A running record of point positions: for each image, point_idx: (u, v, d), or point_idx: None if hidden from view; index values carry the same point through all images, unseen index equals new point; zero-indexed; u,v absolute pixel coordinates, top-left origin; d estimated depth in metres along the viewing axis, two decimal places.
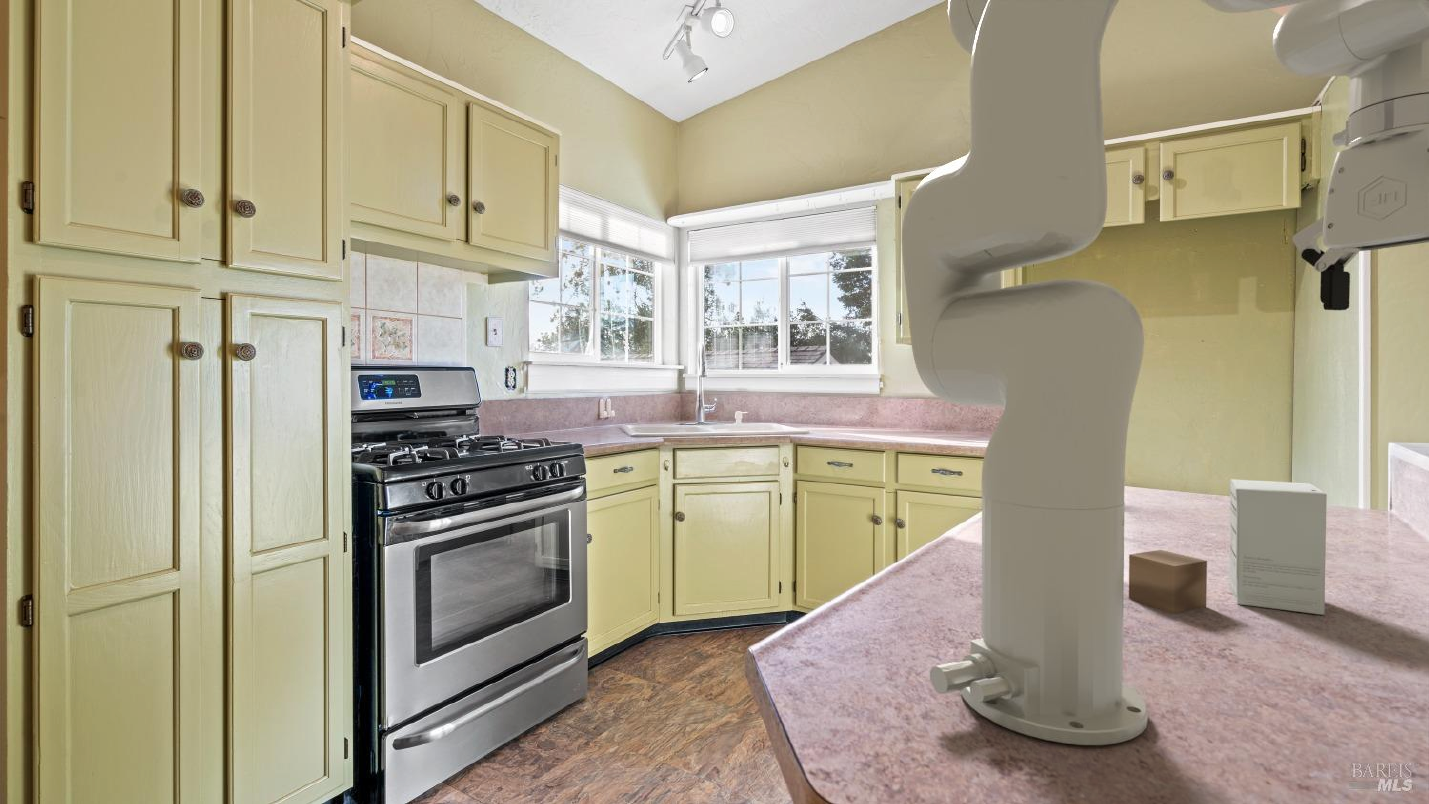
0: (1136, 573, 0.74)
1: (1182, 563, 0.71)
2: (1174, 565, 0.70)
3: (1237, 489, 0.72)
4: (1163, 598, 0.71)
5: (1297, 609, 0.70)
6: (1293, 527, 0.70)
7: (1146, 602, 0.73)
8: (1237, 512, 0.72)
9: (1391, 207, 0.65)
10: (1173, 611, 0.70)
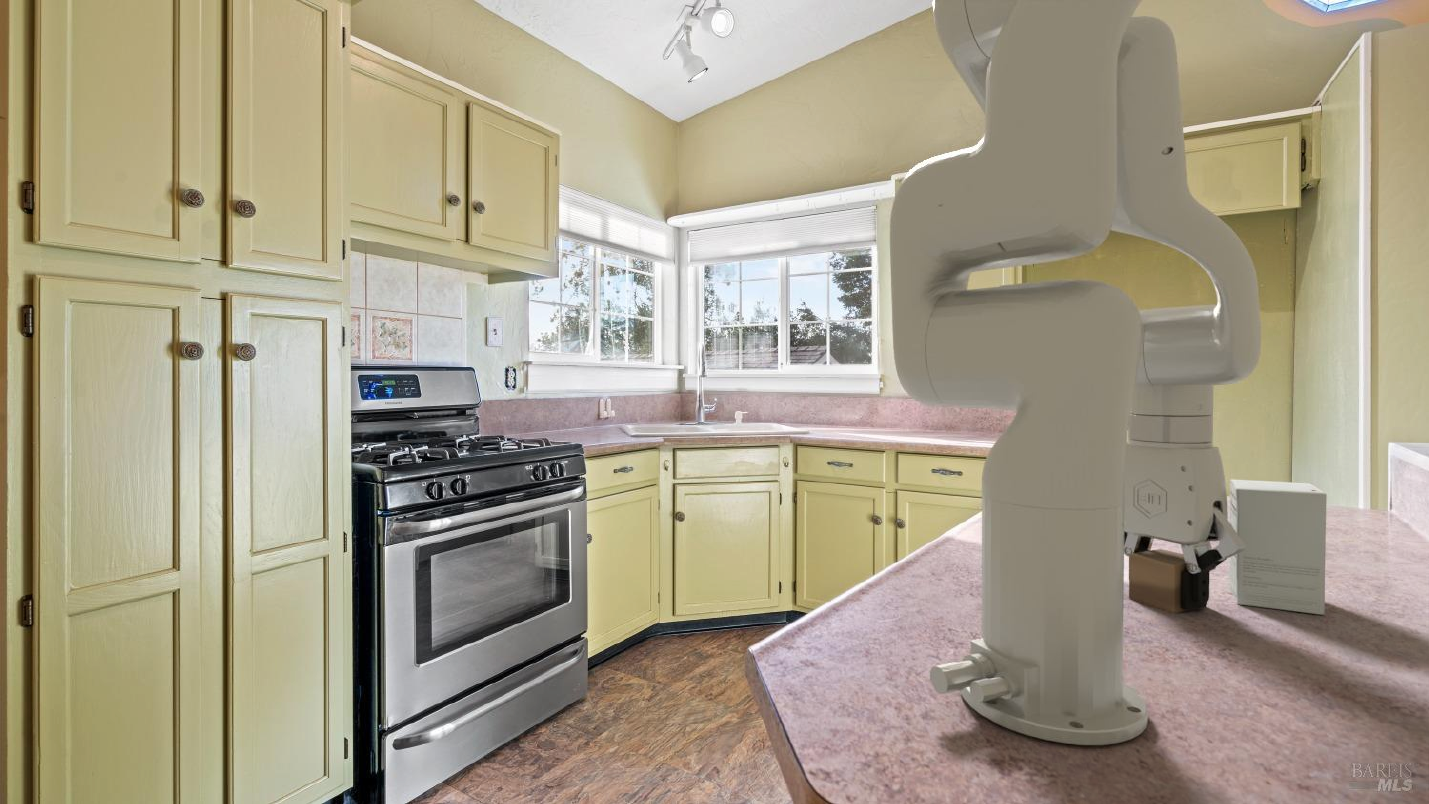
0: (1136, 572, 0.74)
1: (1182, 562, 0.71)
2: (1174, 564, 0.70)
3: (1237, 489, 0.72)
4: (1163, 597, 0.71)
5: (1297, 609, 0.70)
6: (1293, 527, 0.70)
7: (1146, 601, 0.73)
8: (1237, 512, 0.72)
9: (1156, 509, 0.72)
10: (1173, 610, 0.70)
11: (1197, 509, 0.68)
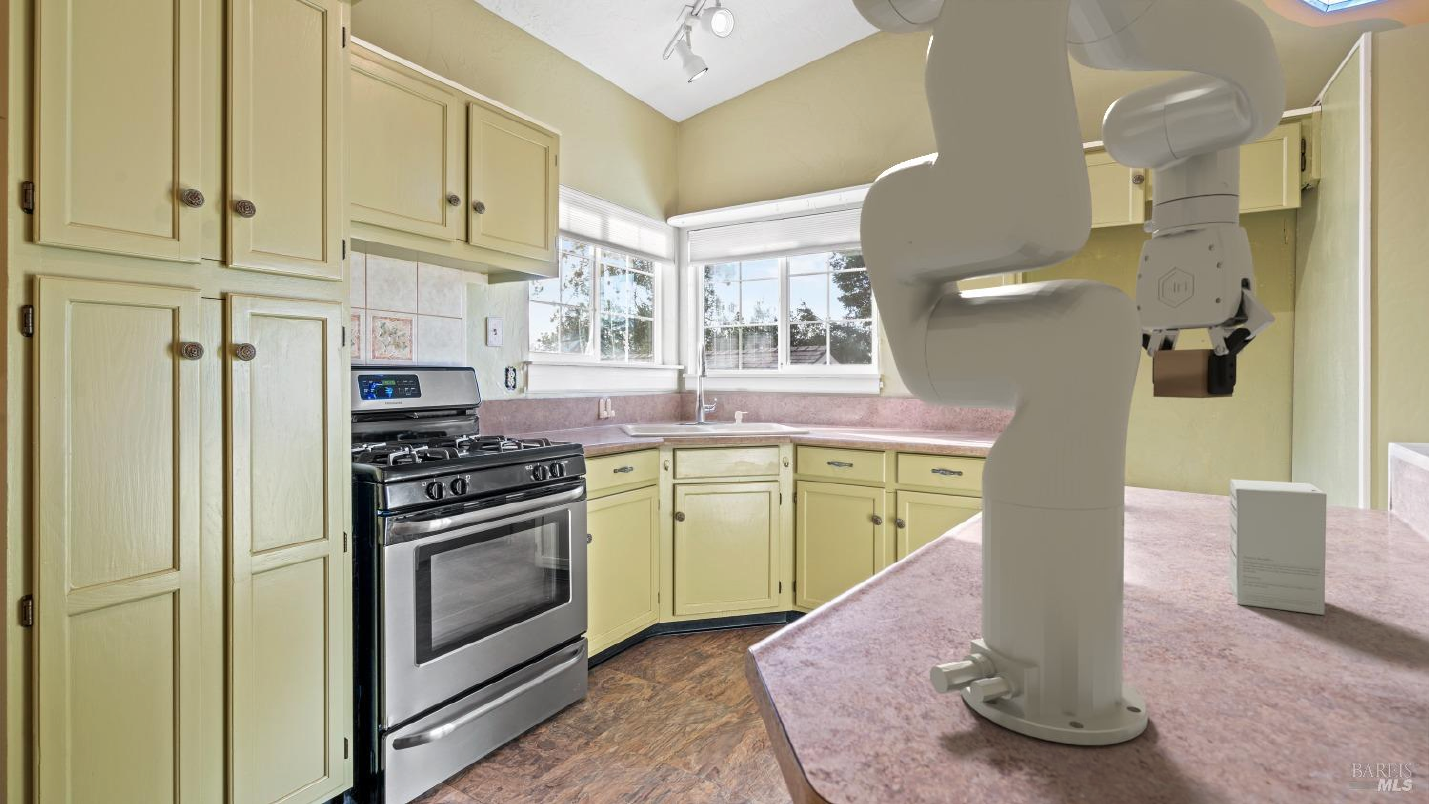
0: (1161, 367, 0.73)
1: (1209, 349, 0.70)
2: (1201, 349, 0.70)
3: (1237, 489, 0.72)
4: (1190, 384, 0.71)
5: (1297, 609, 0.70)
6: (1293, 527, 0.70)
7: (1172, 394, 0.72)
8: (1237, 512, 0.72)
9: (1183, 296, 0.71)
10: (1200, 395, 0.70)
11: (1225, 285, 0.67)
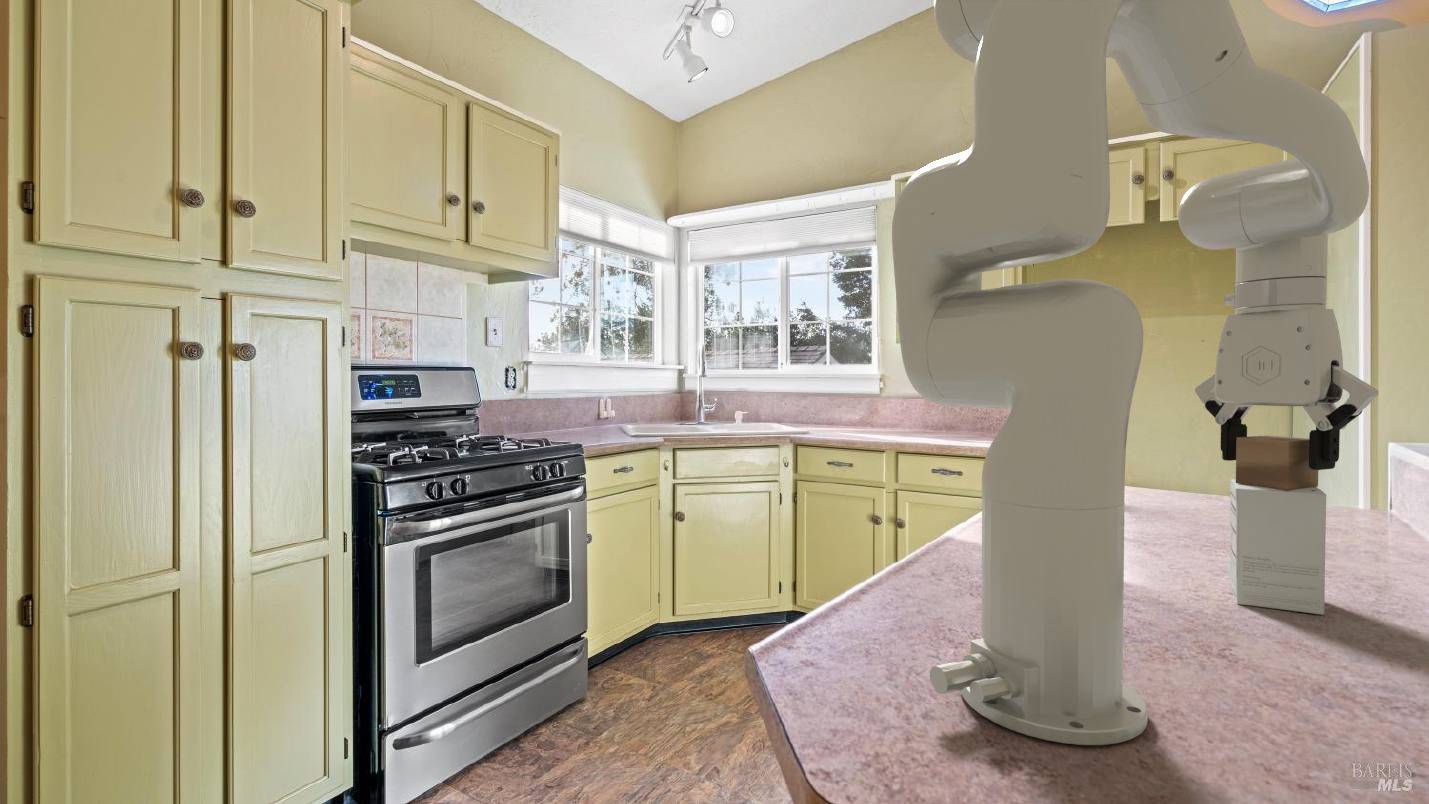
0: (1244, 455, 0.74)
1: (1295, 440, 0.71)
2: (1288, 441, 0.70)
3: (1237, 489, 0.72)
4: (1275, 475, 0.71)
5: (1297, 609, 0.70)
6: (1293, 527, 0.70)
7: (1256, 482, 0.73)
8: (1237, 512, 0.72)
9: (1268, 375, 0.71)
10: (1287, 487, 0.70)
11: (1315, 368, 0.68)
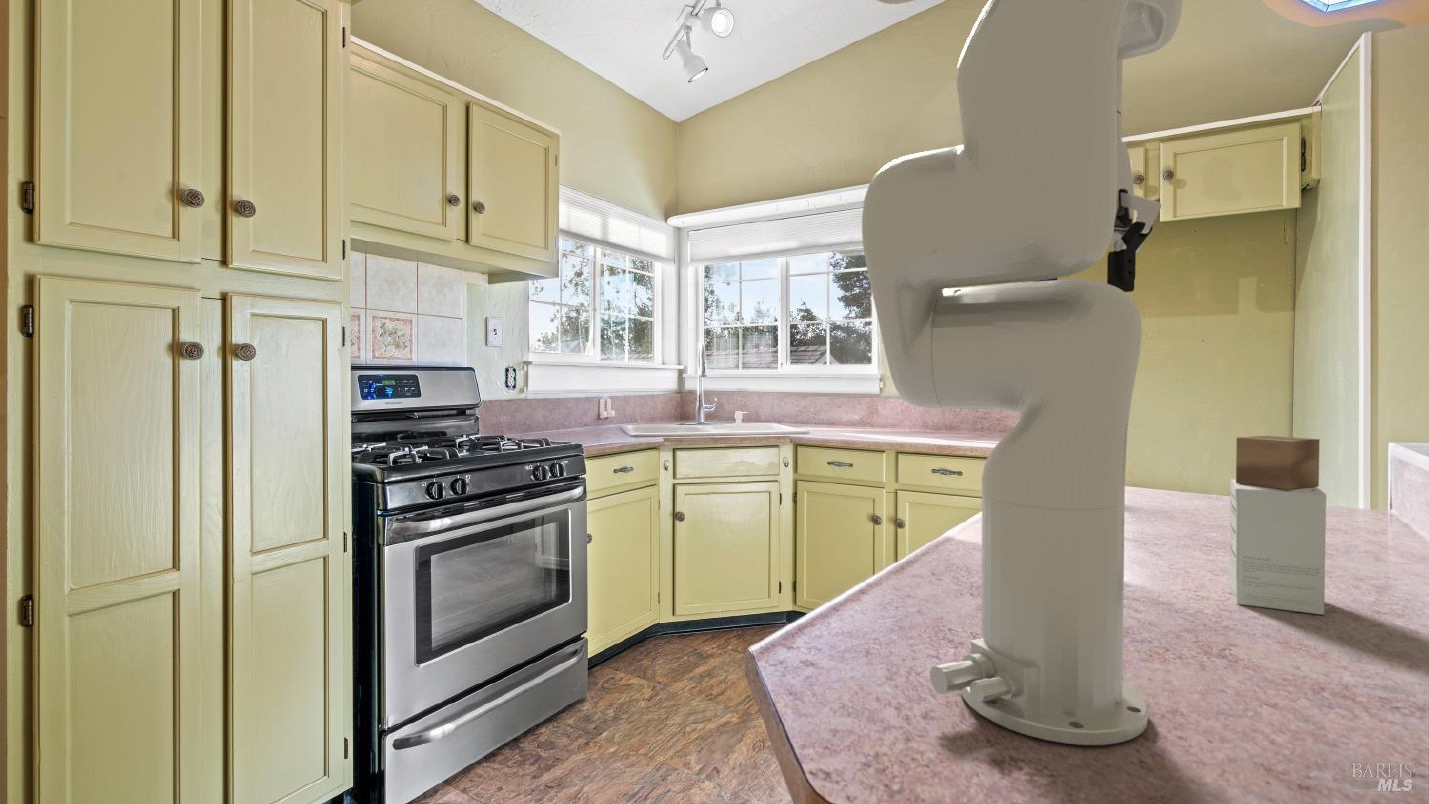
0: (1244, 455, 0.74)
1: (1295, 440, 0.71)
2: (1288, 441, 0.70)
3: (1237, 489, 0.72)
4: (1275, 475, 0.71)
5: (1297, 609, 0.70)
6: (1293, 527, 0.70)
7: (1256, 482, 0.73)
8: (1237, 512, 0.73)
9: None
10: (1287, 487, 0.70)
11: None
